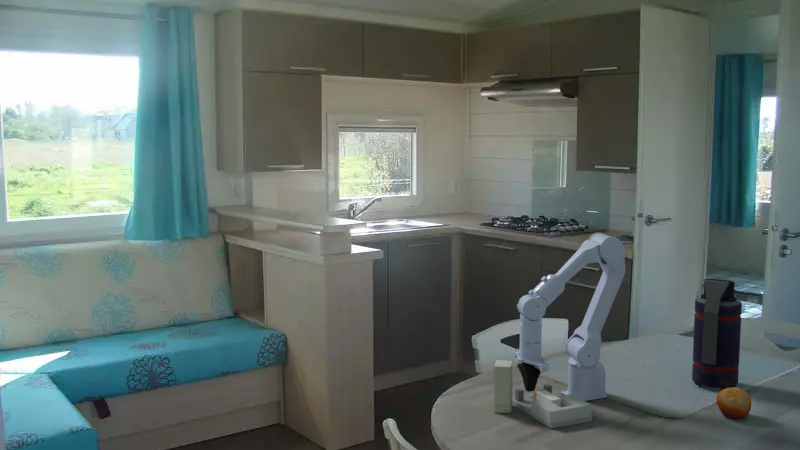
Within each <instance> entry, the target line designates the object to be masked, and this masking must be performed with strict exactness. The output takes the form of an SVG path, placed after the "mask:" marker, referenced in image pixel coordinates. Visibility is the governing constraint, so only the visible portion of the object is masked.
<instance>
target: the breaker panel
mask: <svg viewBox="0 0 800 450" xmlns="http://www.w3.org/2000/svg"><path fill="white" fill-rule="evenodd" d="M542 387H543V388H542V390H543V389H545V390H547V391H548V392H550V393H552V394H553V386H552V385H551V384H550V383H548V384H543V386H542ZM514 391H515V392H514V395H512V406H515V407H517V408H518V409H519V410H521V411H522V412H524V413H526V414H527V415H529V416H530V417H532V418H533V419H536V420H537V421H538V422H540V423H542V424H543V425H544V426H546V427H548V428H549V429H555V428H562V427H567V426H573V425H578V424H584V423H589V422H593V416H592V408H593V407H592V404H591V403H589V402H587V401H584V400H582V399H580V398H578V397H576V396H575V395H573V394H568V395H564V394H562V395H558V396H557V397H559V398H560V399H561V407H559V406H557V405H555V404H554V403H552V402H550V401H549V400H547V399H545V398H543V399H537V400H534V392H528V393H525V389H523V388H515V389H514Z"/></svg>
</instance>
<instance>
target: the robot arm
mask: <svg viewBox="0 0 800 450" xmlns="http://www.w3.org/2000/svg"><path fill="white" fill-rule="evenodd" d="M625 255H626V248H625V246H624V245H623V243H622V241H621V240H620V239H619V238H617V237H614V236H609V235H608V234H605V233H603V232H594V233H593V234H591V235H590V236H589V237H588V239H586V240H584V241H583V242H582V244H581V246H579V248H578V249H577V250H576V252H575V253H574V254H573V255H572V256H571V257H570V258H569V259H568V260H567V261H566V262H565V263H564V265H563V266H561V268H559V270H558V271H557V272H556V273H554V274H547V276H546V275H543V276H542V278H540V280H541V281H540V282H539V284H537V285H536V286H535V287H534V288H533V289H530V290H529V291H528V294H524V295H523V296H521V297H520V298H519V300H518V303H517V304H516V309H517V311H518V312H519V349H514V350H513V355H512V356H513V358H515V361H516V362H518V364H517V365H516V366H517V368H518V370H519V372H520V376H521V377H522V381H523V386H524V391H526V392H528V393H531V392H534V391H536V387H537V383H538V379H539V377H540V375H541V373H546V372H549V363H547V362H546V361H545V359H544V357H543V356H542V341H543V340H542V336H543V335H542V333H543V331H542V330H543V325H542V323H543V320H542V319H543V317H544V316H545V314H546V311H547V308H548V307H549V306H550V305H551V304H552V303H553V302H554V301H555V300H557V298H558V297H559V296H560V295H561V294H562V293H563V292H564V291H565V288H566V287H565V285H566V283H567V282H568V281H569V280H571V279H572V278H573V277H574V276H575V275H576V274H577V273H578V272H580V270H582V269H583V268H584V267H585V266H587V264H594V263H599V266H600V267H601V270H602V274H601V275H600V278H599V281H598V283H597V285H596V288H595V290H594V293H593V296H592V298H591V301H590V303H589V305H588V307H587V311H586V312H585V314H584V318H583V320H582V322H581V325H580V326H578V327H577V328H576V329H575V330H574V332H573V334H572V335H571V336H570V337H569V338H568V339H567V341H566V343H565V351H566V352H565V353H566V354H567V355H568V357H569V358H568V361H567V362H568V369H567V370H568V372H567V374H568V375H567V390H566V389H565V390H561V391H560V392H561V394H562V395H568V394H573V395H575V396H576V397H578V398H580V399H582V400H584V401H586V402H587V401H592V400H593V401H594V400H598V399H605V398H607V397H608V395H607V394H606V379H607V378H606V376H607V374H606V369H605V367H604V365H603V363H601V362H599V360H600V357H601V346H602V345H603V344H602V343H603V342H602V336H601V333H602V330H603V328H604V326H605V323H606V321H607V318H608V316H609V314H610V311H611V309H612V306H613V303H614V302H615V299H616V297H617V294H618V291H619V289H620V287H621V284H622V282H623V280H624V277H625V275H626V261H625Z"/></svg>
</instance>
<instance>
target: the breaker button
mask: <svg viewBox="0 0 800 450" xmlns="http://www.w3.org/2000/svg"><path fill="white" fill-rule="evenodd" d="M533 393H534V400H537V399H543V398H545V399H547V400H549V401H550V402H552V403H554V404H555V405H557V406H559V407H561V399H560V398H559V397H558V396H557V395H555V394H553V392H552V393H550V392H548V391H547V390H545V389H543V388H542V389H537V390H534V391H533Z"/></svg>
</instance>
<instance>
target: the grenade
mask: <svg viewBox="0 0 800 450" xmlns="http://www.w3.org/2000/svg"><path fill="white" fill-rule="evenodd" d="M735 285H736V283H735V281H733V280H730V279H728V280H727V279H719V278H704V279H703V283H701V284H700V286H699V287H698V289H697V291H696V295H695V297H696V298H695V300H694V312H695V313H694V318H693V319H694V321H693V342H692V343H693V347H692V348H693V349H692V362H693V363H692V369H691V380H692V381H693V382H694V385H695V384H696V385H698V386H700V387H701V386H703V387H708V388H714V389H720V391H722V390H723V389H726V388H732V387H737V386H738V384H739V370H740V369H739V367H740V352H741V330H742V329H741V327H742V326H741V325H742V317H741V316H742V310H743V304H742V301H740V300H738V299H737V297H735ZM701 287H702V288H701ZM700 289H701V291H700ZM699 292H700V293H699ZM702 292H703V293H702Z"/></svg>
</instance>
